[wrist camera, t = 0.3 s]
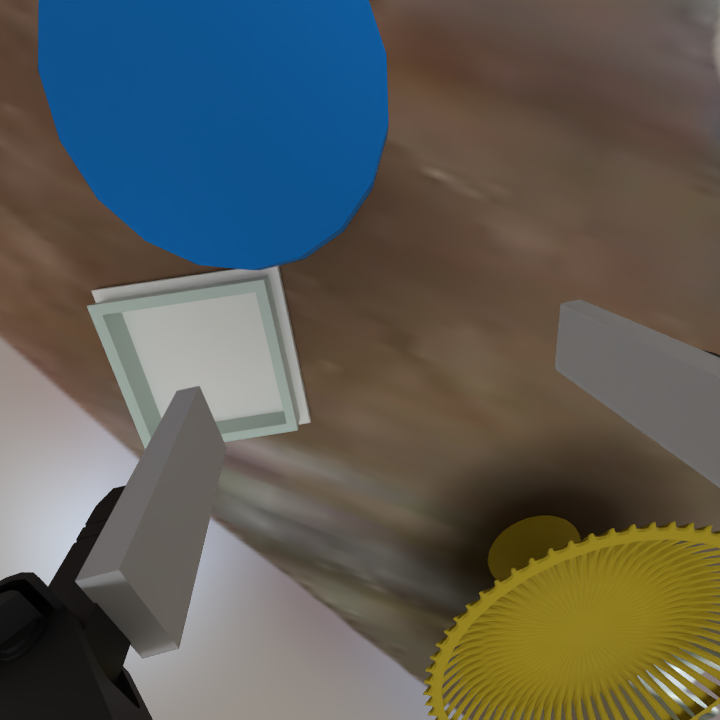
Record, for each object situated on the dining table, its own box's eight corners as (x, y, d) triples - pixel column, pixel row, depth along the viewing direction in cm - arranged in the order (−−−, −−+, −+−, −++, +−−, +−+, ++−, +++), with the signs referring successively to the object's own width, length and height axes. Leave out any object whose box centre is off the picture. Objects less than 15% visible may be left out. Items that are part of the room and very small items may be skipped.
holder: (98, 288, 37) (70, 296, 33) (278, 262, 37) (272, 266, 33) (158, 441, 43) (141, 463, 39) (310, 417, 44) (309, 436, 40)
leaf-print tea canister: (218, 208, 35) (-3, 180, 12) (260, 89, 32) (74, -268, 9) (323, 260, 37) (313, 323, 14) (370, 154, 34) (458, 10, 11)
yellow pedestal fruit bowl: (340, 547, 51) (345, 670, 37) (599, 374, 45) (724, 443, 31) (487, 677, 64) (532, 805, 50) (704, 557, 58) (825, 665, 44)
